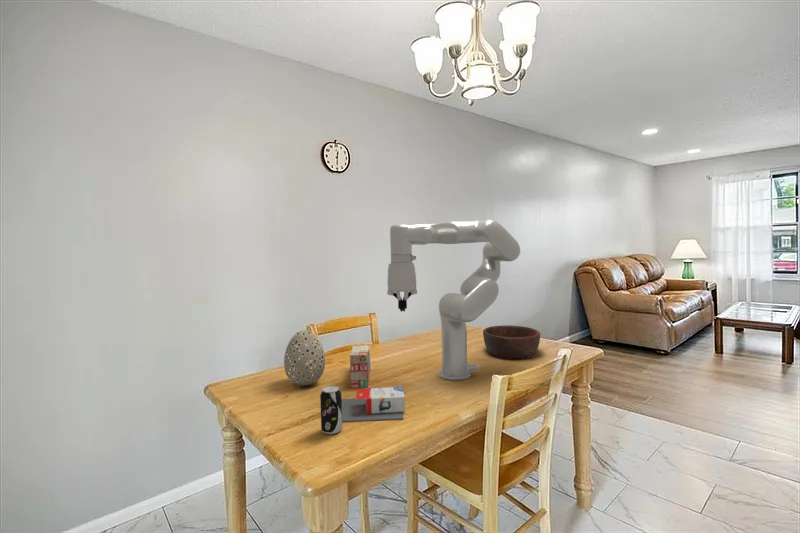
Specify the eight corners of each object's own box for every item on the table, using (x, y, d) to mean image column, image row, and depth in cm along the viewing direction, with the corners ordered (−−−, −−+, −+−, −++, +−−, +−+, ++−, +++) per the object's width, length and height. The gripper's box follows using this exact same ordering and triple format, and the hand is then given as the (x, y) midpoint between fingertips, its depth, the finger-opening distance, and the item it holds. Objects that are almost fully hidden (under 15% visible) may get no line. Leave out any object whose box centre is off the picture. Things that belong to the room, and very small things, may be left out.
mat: (400, 397, 131) (400, 396, 131) (403, 419, 115) (403, 418, 115) (339, 400, 130) (339, 399, 130) (334, 422, 114) (334, 421, 114)
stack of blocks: (355, 369, 162) (354, 339, 161) (370, 368, 162) (369, 339, 161) (350, 388, 140) (349, 354, 140) (368, 388, 141) (367, 354, 140)
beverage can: (345, 432, 108) (344, 389, 107) (326, 438, 105) (324, 394, 104) (337, 424, 113) (336, 383, 112) (318, 429, 110) (316, 387, 109)
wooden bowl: (473, 349, 188) (473, 327, 187) (518, 344, 195) (518, 323, 195) (502, 364, 164) (502, 340, 163) (552, 358, 171) (552, 334, 171)
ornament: (300, 375, 155) (298, 325, 153) (333, 379, 149) (331, 327, 148) (276, 389, 141) (274, 333, 140) (311, 394, 136) (309, 336, 134)
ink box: (402, 401, 127) (356, 403, 126) (402, 386, 127) (356, 388, 126) (405, 412, 119) (356, 415, 118) (405, 396, 118) (355, 398, 117)
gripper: (421, 258, 144) (422, 308, 145) (380, 259, 143) (381, 309, 145) (423, 259, 137) (424, 312, 138) (380, 260, 136) (381, 313, 137)
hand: (402, 310), depth 141 cm, fingers closed
